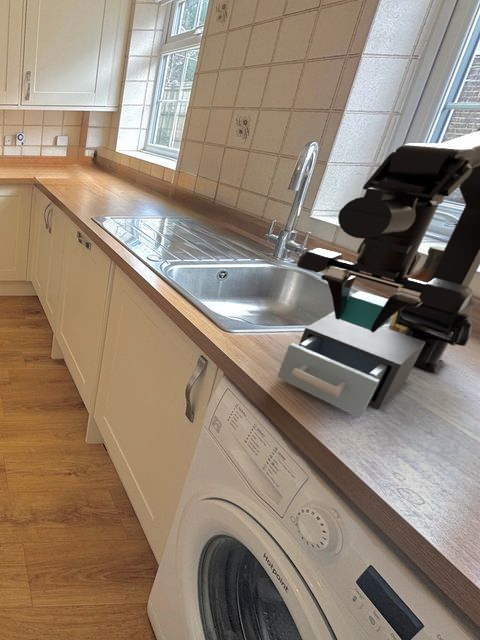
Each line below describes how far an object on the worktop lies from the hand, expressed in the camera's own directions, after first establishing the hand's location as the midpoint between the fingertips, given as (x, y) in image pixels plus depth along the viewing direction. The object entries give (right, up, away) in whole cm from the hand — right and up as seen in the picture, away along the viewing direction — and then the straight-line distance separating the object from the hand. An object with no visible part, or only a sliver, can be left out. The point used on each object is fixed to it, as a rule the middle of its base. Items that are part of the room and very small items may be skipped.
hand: (355, 325), depth 66 cm
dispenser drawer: (-2, -11, +3) cm, 12 cm away
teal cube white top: (+3, 0, +2) cm, 3 cm away
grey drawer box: (+7, -11, +9) cm, 15 cm away
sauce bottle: (+34, -6, +24) cm, 42 cm away
